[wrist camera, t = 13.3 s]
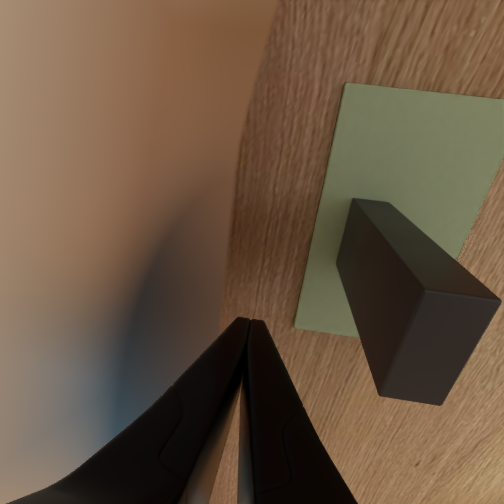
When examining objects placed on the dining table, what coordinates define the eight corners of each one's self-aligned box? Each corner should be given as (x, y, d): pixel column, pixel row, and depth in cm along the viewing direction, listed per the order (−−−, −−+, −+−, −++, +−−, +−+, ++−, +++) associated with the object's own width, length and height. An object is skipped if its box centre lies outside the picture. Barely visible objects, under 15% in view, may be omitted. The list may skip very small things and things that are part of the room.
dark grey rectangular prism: (335, 264, 19) (378, 397, 10) (352, 197, 17) (424, 289, 8) (373, 269, 19) (451, 408, 10) (395, 202, 17) (515, 302, 8)
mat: (414, 342, 22) (416, 346, 21) (293, 324, 22) (293, 328, 22) (524, 102, 15) (530, 102, 14) (344, 82, 15) (345, 82, 15)
